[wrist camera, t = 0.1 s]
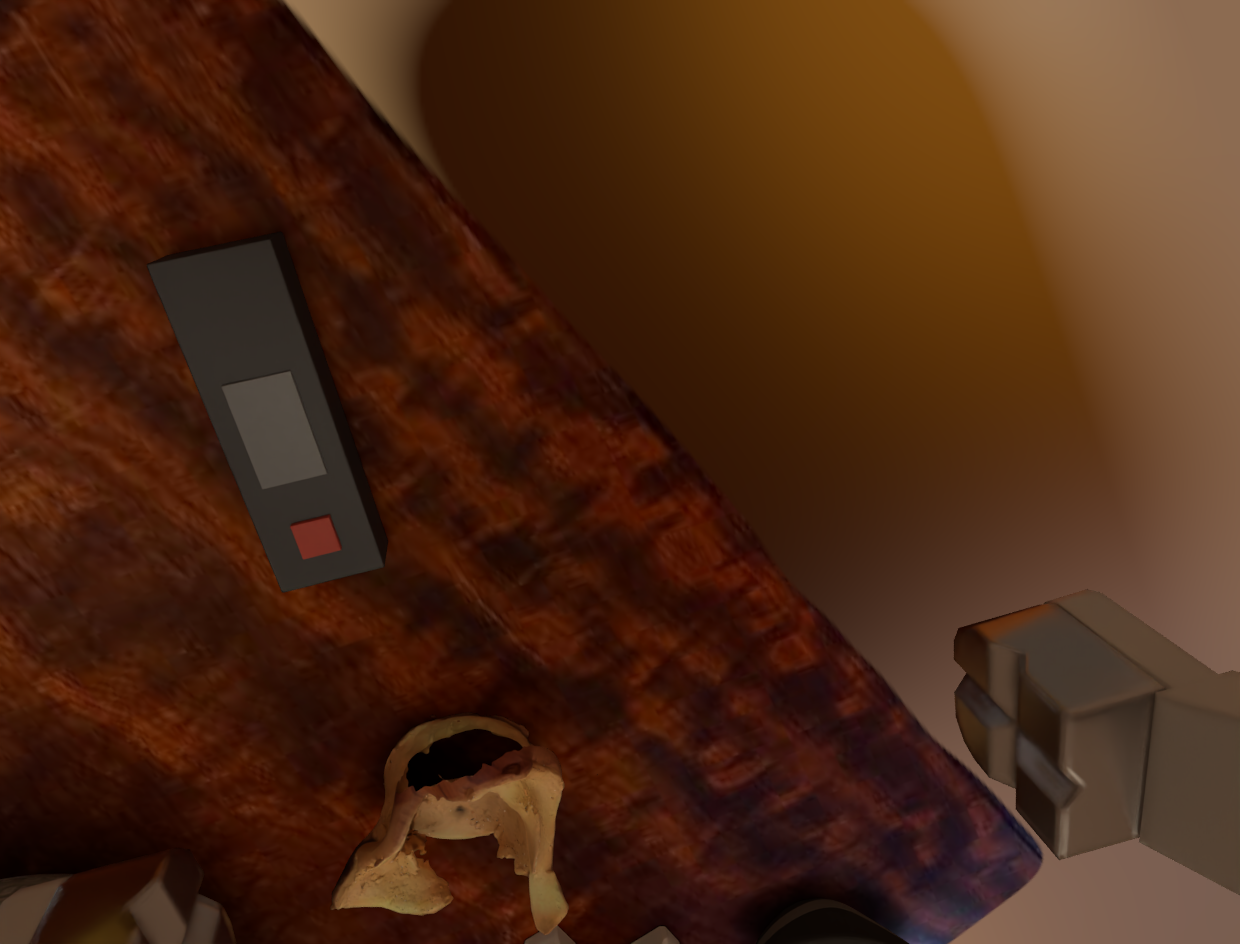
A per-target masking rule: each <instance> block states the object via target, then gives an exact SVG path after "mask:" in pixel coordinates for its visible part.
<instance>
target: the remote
mask: <svg viewBox="0 0 1240 944" xmlns="http://www.w3.org/2000/svg"><path fill="white" fill-rule="evenodd" d="M147 268H148V270H149V272H150V275H151V277H152V280H153V282H154V285H155V287H156V289H157V292H158V294H159V297H160V299H161V301H162V304H163V306H164V309H165V311H166V313H167V316H168V318H169V321H170V323H171V326H172V328H173V330H174V333H175V335H176V338H177V340H178V342H179V345H180V347H181V350H182V352H183V355H184V357H185V359H186V362H187V364H188V367H189V369H190V371H191V374H192V376H193V379H194V381H195V383H196V386H197V388H198V391H199V393H200V396H201V398H202V400H203V403H204V405H205V408H206V410H207V412H208V415H209V417H210V420H211V422H212V424H213V427H214V429H215V432H216V434H217V437H218V439H219V441H220V444H221V446H222V449H223V451H224V453H225V456H226V458H227V461H228V463H229V465H230V468H231V470H232V473H233V475H234V478H235V480H236V482H237V485H238V487H239V490H240V492H241V494H242V497H243V499H244V502H245V504H246V507H247V509H248V511H249V514H250V516H251V519H252V521H253V523H254V526H255V528H256V531H257V533H258V535H259V538H260V540H261V543H262V545H263V548H264V550H265V552H266V555H267V557H268V560H269V562H270V564H271V567H272V569H273V572H274V574H275V576H276V579H277V581H278V584H279V586H280V589H281V591H282V592H287V591H291V590H295V589H299V588H303V587H307V586H311V585H315V584H319V583H323V582H327V581H331V580H335V579H339V578H342V577H346V576H350V575H354V574H358V573H362V572H366V571H370V570H374V569H378V568H382V567H384V566H385V559H386V552H387V545H388V540H387V537H386V534H385V531H384V528H383V525H382V522H381V520H380V517H379V514H378V511H377V508H376V505H375V502H374V499H373V496H372V493H371V490H370V487H369V484H368V481H367V479H366V476H365V473H364V470H363V467H362V464H361V461H360V458H359V455H358V452H357V449H356V446H355V443H354V440H353V438H352V435H351V432H350V429H349V426H348V423H347V420H346V417H345V414H344V411H343V408H342V405H341V402H340V399H339V397H338V394H337V391H336V388H335V385H334V382H333V379H332V376H331V373H330V370H329V367H328V364H327V361H326V358H325V356H324V353H323V350H322V347H321V344H320V341H319V338H318V335H317V332H316V329H315V326H314V323H313V320H312V317H311V315H310V312H309V309H308V306H307V303H306V300H305V297H304V294H303V291H302V288H301V285H300V282H299V279H298V276H297V274H296V271H295V268H294V265H293V262H292V259H291V256H290V253H289V250H288V247H287V244H286V241H285V238H284V235H283V233H282V232H277V233H272V234H267V235H262V236H257V237H253V238H248V239H243V240H238V241H233V242H229V243H224V244H219V245H214V246H209V247H205V248H200V249H195V250H190V251H185V252H181V253H176V254H171V255H167V256H165V257H162V258H160V259H158V260H156V261H153V262H151V263H149V264H147Z"/></svg>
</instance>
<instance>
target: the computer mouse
mask: <svg viewBox="0 0 1240 944" xmlns="http://www.w3.org/2000/svg"><path fill="white" fill-rule="evenodd" d="M756 944H909V943H907V942H906V941H904V940H903V939H901V938H900V937H898V936H897V935H895V934H894V933H892V932H891V931H889V930H888V929H886V928H884V927H883V926H881V925H880V924H878V923H876V922H875V921H873V920H871V919H870V918H868V917H867V916H865V915H863V914H862V913H860V912H858V911H856V910H855V909H853V908H851V907H849V906H847V905H845V904H843V903H840V902H838V901H834V900H830V899H823V898H813V899H807V900H802V901H799V902H796V903H794V904H793V905H791V906H789V907H787V908H786V909H784V910H783V911H782V912H780V913H779V914H778V915H777V916H776V917H775V918H774V919H773V920H772V921H771V923H770V924H769V925H768V926H767V927H766V929H765V930H764V931H763V933H762V934H761V936H760V937H759V939H758V940H757V942H756Z"/></svg>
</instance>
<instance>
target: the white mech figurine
mask: <svg viewBox="0 0 1240 944" xmlns="http://www.w3.org/2000/svg"><path fill="white" fill-rule="evenodd" d="M524 944H576V943H575V942H574V941H573V940H572V939H571V938H570V937H569V936H568V935H567V934H566V933H565V932H563V931H562V930H561V929H560V928H559V927H558V926H556V927H555V928H554V929H553V930H552V931H551V932H550V933H549V934H547V935H544V934H543V933H541V932H538V933H537V934H535V935H533V936H532V937H530V938H528V939H527V940H525V943H524ZM631 944H680V943H679V941H678V940H677V939H676V938H675V937H674V936H673V935H672V933H671V932H670V931H669V930H668V929H667V928H666V927H665V926H659V927H657V928H656V929H654V930H653V931H651V932H649V933H648V934H646V935H644V936H643V937H641V938H639V939H638V940H636V941H635V942H633V943H631Z"/></svg>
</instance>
